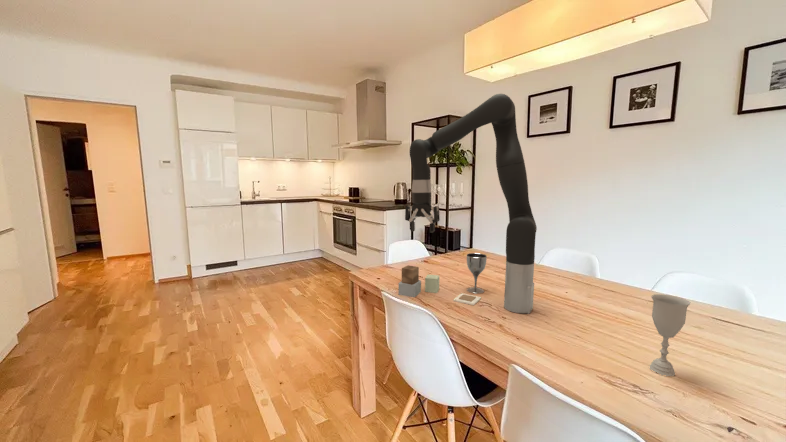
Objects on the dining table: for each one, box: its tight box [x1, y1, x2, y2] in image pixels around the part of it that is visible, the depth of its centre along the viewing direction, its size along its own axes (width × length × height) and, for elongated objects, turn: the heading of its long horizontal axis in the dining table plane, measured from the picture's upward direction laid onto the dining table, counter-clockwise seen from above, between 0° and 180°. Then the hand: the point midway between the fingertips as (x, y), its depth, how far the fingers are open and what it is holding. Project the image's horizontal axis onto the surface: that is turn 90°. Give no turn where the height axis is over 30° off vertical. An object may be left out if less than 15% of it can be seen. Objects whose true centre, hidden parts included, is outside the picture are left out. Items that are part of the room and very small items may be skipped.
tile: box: [453, 293, 482, 306], centre depth 124 cm, size 8×8×1 cm
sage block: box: [424, 274, 440, 294], centre depth 134 cm, size 5×5×6 cm
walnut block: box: [401, 265, 420, 285], centre depth 129 cm, size 5×5×6 cm
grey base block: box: [397, 279, 422, 298], centre depth 130 cm, size 7×7×5 cm
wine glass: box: [466, 252, 488, 294], centre depth 133 cm, size 8×8×15 cm
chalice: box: [649, 293, 692, 377], centre depth 77 cm, size 7×7×18 cm
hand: (422, 231), depth 130 cm, fingers open, 8 cm apart
